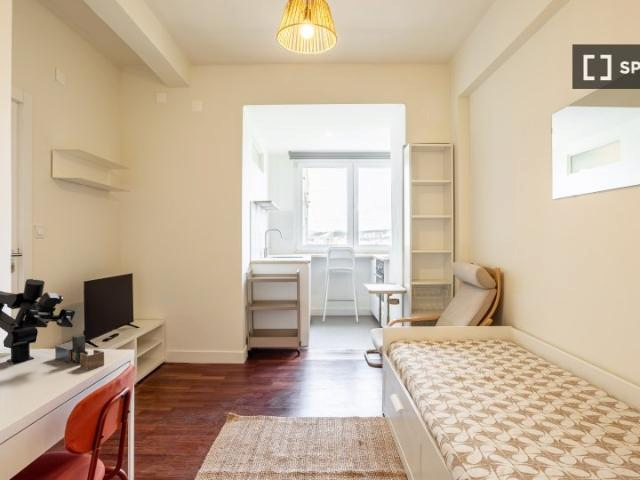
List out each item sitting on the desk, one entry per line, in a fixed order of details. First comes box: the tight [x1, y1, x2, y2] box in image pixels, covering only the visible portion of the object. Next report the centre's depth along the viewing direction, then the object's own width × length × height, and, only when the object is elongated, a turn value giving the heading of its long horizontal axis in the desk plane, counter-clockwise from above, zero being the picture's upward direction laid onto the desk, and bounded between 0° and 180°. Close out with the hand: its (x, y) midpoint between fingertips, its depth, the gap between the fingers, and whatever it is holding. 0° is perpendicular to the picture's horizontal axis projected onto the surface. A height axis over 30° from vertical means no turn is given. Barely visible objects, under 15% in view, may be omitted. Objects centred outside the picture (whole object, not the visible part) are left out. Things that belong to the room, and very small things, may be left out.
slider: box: [71, 334, 89, 363], centre depth 142 cm, size 15×3×9 cm, turn 61°
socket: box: [79, 349, 105, 371], centre depth 135 cm, size 6×5×5 cm
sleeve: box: [54, 342, 75, 364], centre depth 143 cm, size 10×5×5 cm, turn 61°
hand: (59, 326), depth 131 cm, fingers open, 9 cm apart
